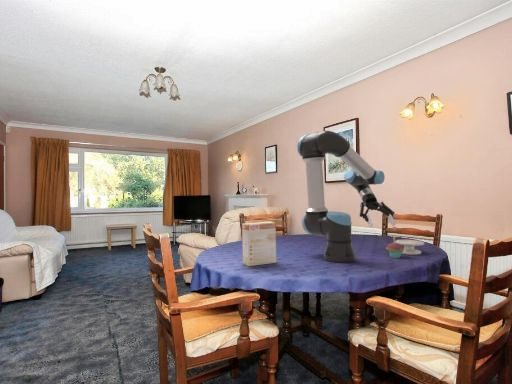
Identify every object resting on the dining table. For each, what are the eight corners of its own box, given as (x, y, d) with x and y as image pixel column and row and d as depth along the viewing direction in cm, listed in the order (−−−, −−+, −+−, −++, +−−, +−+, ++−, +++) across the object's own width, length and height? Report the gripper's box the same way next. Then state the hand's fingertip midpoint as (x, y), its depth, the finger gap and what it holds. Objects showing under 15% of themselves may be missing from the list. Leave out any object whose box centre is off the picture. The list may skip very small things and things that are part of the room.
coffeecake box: (269, 260, 150) (269, 221, 151) (276, 263, 144) (276, 222, 144) (242, 263, 144) (241, 222, 144) (248, 266, 138) (247, 223, 138)
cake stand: (396, 254, 160) (396, 243, 160) (394, 249, 173) (394, 239, 173) (426, 256, 154) (426, 244, 154) (422, 251, 167) (422, 240, 168)
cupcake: (403, 259, 148) (402, 234, 148) (384, 257, 152) (384, 233, 152) (405, 256, 155) (404, 232, 155) (387, 254, 159) (387, 231, 159)
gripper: (385, 201, 183) (400, 228, 169) (346, 202, 180) (359, 230, 165) (390, 192, 178) (406, 220, 163) (350, 193, 174) (363, 221, 160)
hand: (382, 225), depth 164 cm, fingers open, 13 cm apart
